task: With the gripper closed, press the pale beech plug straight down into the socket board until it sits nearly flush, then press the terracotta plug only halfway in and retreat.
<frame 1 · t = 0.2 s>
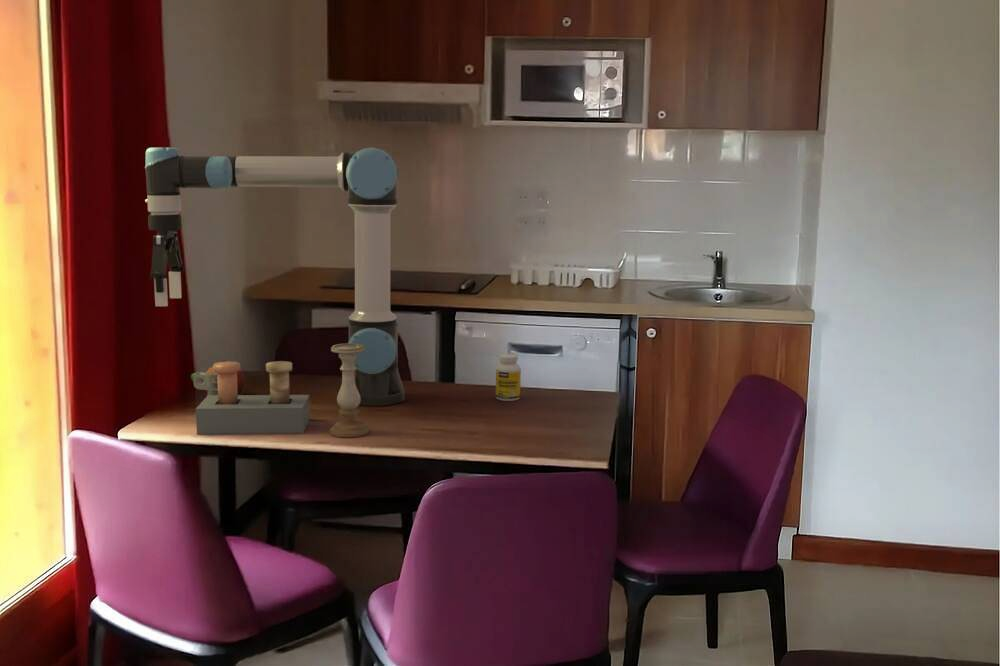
hand: (168, 302, 246), 28 cm above the table, fingers open, 13 cm apart
pill bottle: (507, 399, 270), on the table
mechanical component: (213, 414, 251), on the table
beech plug: (279, 383, 238), point 10 cm above the table, slide at 0.0 cm
socket board: (254, 426, 240), on the table
candle holder: (349, 433, 235), on the table
terracotta plug: (227, 383, 237), point 10 cm above the table, slide at 0.0 cm
fruit: (225, 398, 267), on the table
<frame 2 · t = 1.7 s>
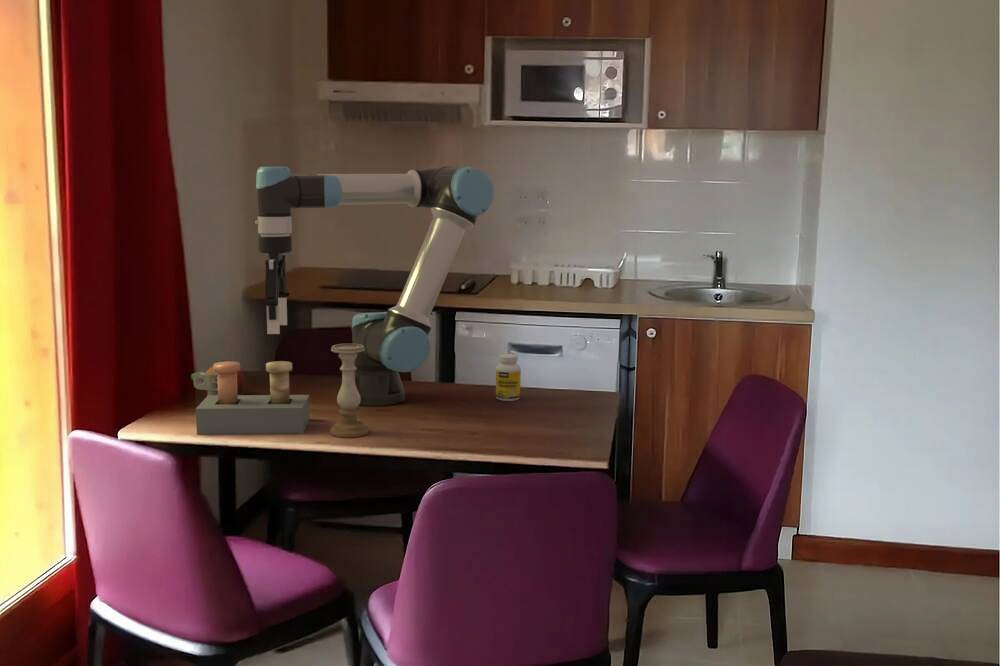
hand: (277, 329, 236), 23 cm above the table, fingers open, 11 cm apart
nothing on the table moved.
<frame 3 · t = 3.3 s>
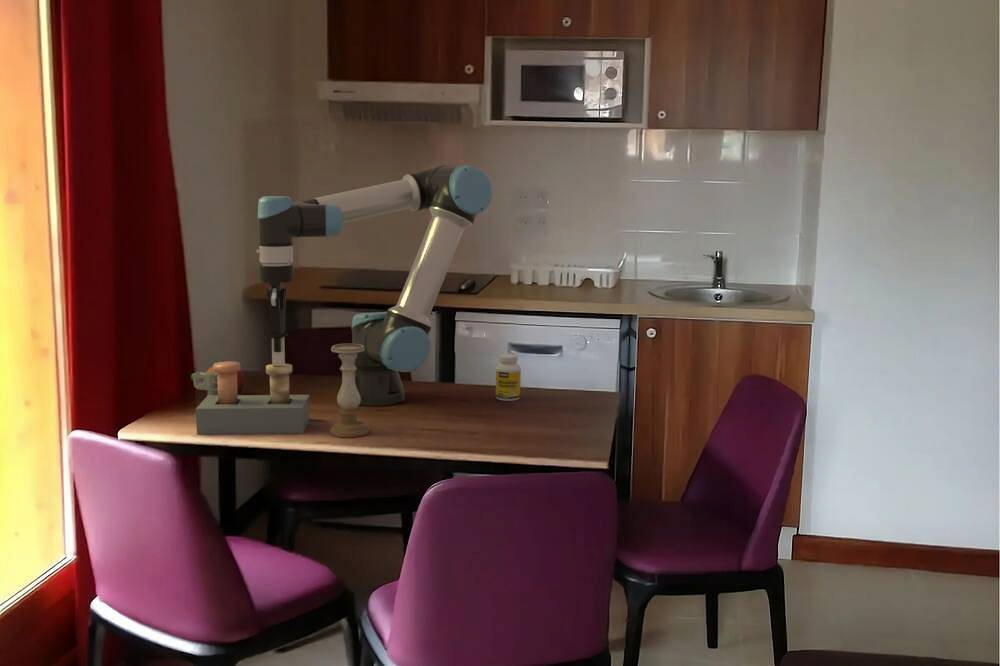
hand: (278, 365, 238), 15 cm above the table, fingers closed
beech plug: (279, 385, 238), point 10 cm above the table, slide at 0.6 cm, touching gripper
everything else where it was.
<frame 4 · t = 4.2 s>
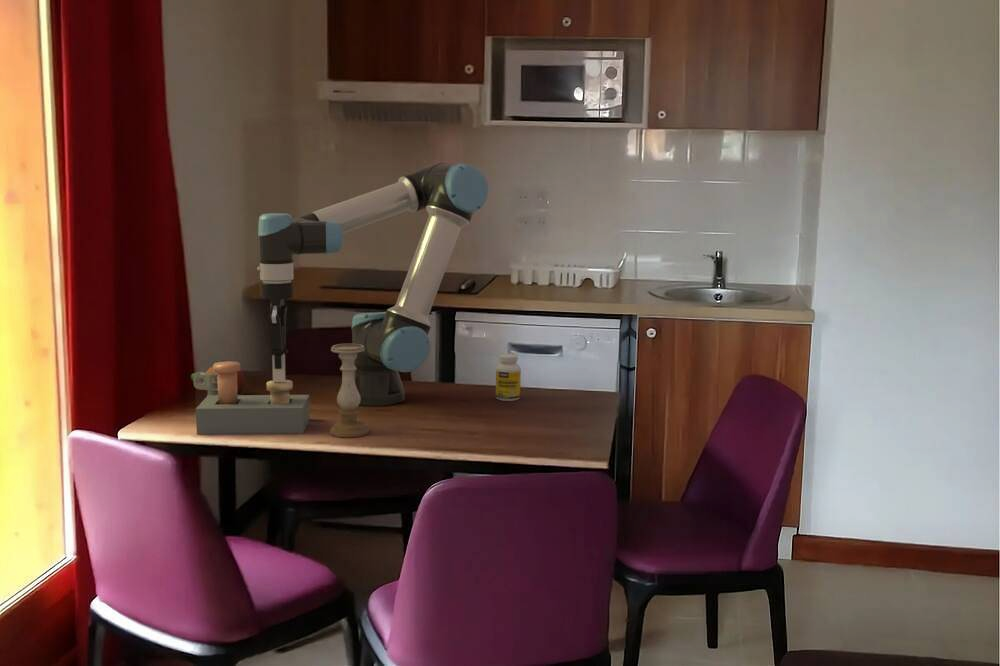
hand: (279, 381, 238), 11 cm above the table, fingers closed
beech plug: (280, 402, 239), point 6 cm above the table, slide at 4.5 cm, touching gripper
everything else where it was.
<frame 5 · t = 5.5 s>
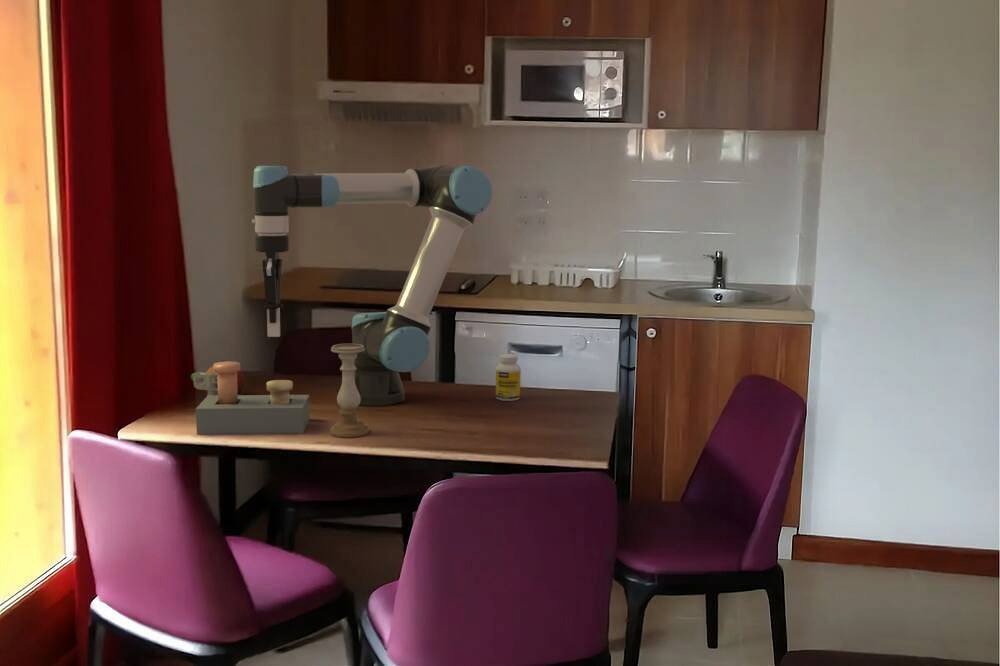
hand: (273, 336, 236), 22 cm above the table, fingers closed
beech plug: (280, 402, 239), point 6 cm above the table, slide at 4.5 cm
everything else where it was.
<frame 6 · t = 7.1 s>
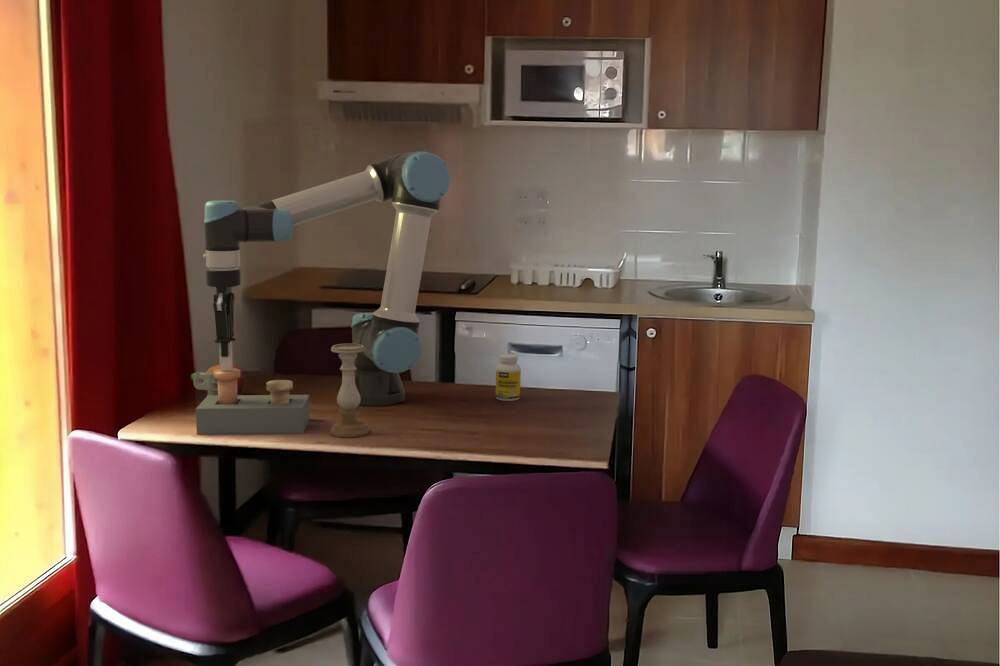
hand: (226, 369, 237), 14 cm above the table, fingers closed
terracotta plug: (227, 390, 238), point 9 cm above the table, slide at 1.6 cm, touching gripper
everything else where it was.
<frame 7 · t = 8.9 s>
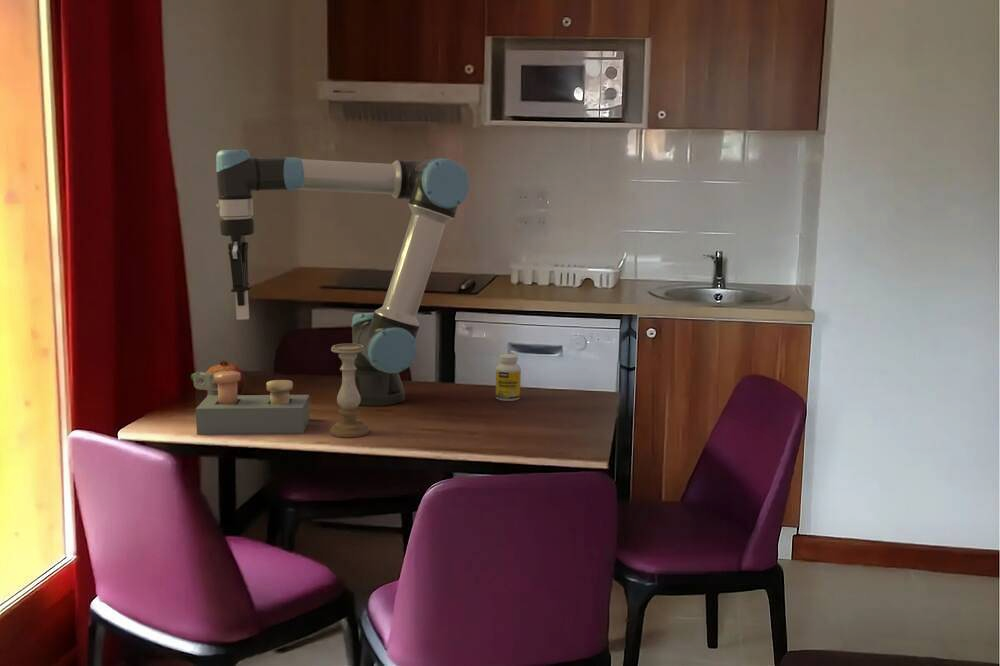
hand: (243, 318, 239), 25 cm above the table, fingers closed
terracotta plug: (227, 393, 238), point 8 cm above the table, slide at 2.3 cm
everything else where it was.
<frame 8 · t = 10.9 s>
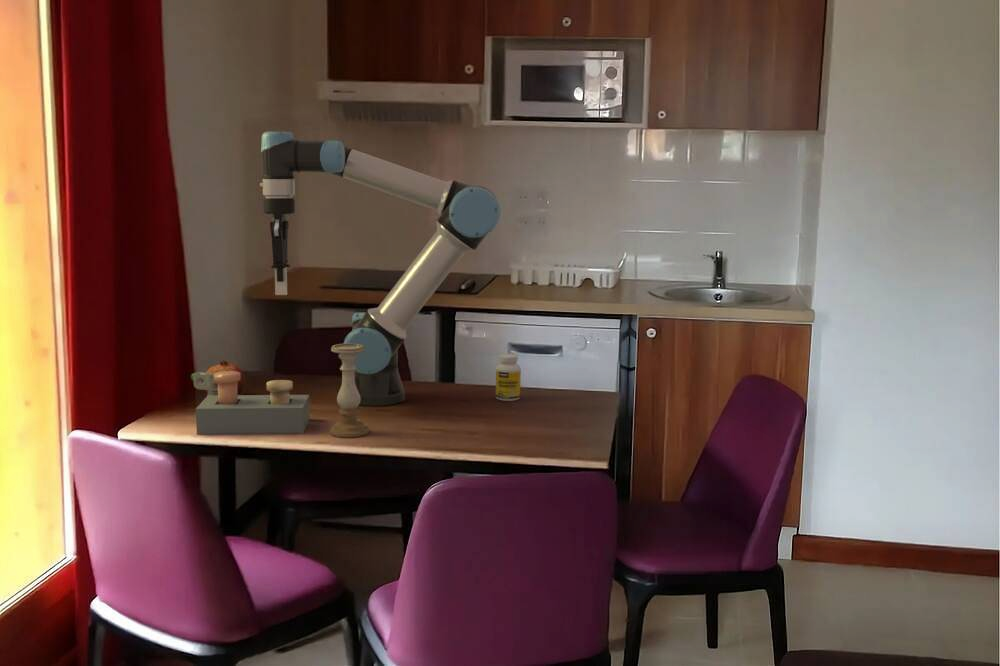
hand: (281, 294, 249), 29 cm above the table, fingers closed
nothing on the table moved.
at the end: beech plug slide at 4.5 cm; terracotta plug slide at 2.3 cm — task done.
